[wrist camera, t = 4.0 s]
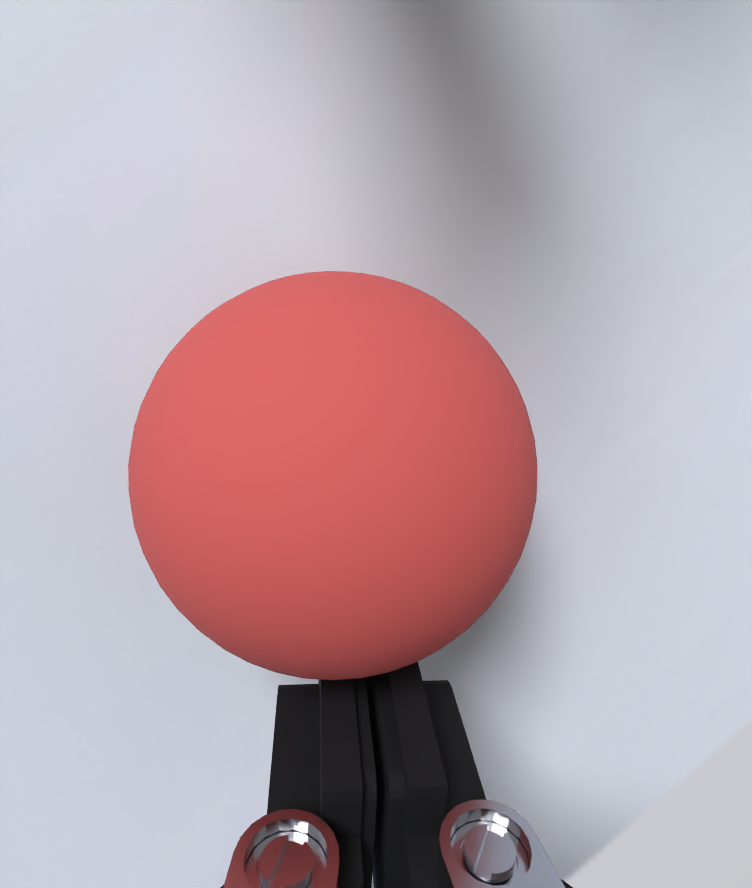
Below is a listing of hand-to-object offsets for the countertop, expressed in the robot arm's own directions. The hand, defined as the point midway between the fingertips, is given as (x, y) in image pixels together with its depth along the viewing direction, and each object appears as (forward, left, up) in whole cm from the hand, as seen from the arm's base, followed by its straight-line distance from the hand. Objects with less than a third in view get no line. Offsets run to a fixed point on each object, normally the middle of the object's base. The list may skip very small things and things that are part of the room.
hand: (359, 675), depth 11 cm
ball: (+4, -1, +1) cm, 5 cm away
